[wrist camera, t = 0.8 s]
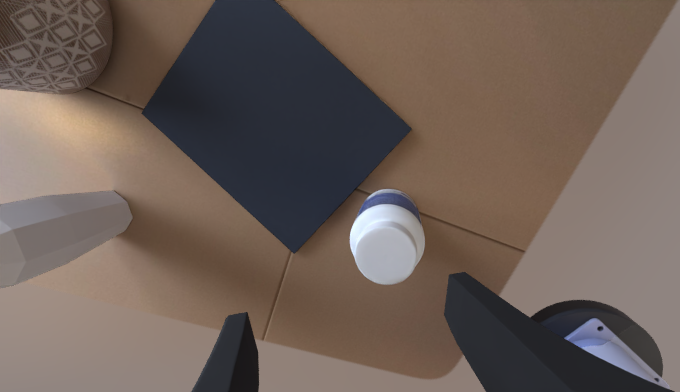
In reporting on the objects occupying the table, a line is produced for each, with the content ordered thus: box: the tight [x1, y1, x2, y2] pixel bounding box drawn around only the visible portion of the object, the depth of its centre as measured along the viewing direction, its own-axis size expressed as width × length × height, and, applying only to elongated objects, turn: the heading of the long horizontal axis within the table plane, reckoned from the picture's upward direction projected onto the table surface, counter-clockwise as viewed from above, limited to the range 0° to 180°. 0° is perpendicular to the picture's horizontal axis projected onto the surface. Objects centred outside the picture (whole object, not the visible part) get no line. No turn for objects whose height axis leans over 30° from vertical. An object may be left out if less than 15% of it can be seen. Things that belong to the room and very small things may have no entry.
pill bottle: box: [350, 189, 425, 285], centre depth 26 cm, size 5×5×10 cm
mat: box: [142, 0, 411, 253], centre depth 31 cm, size 20×16×1 cm
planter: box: [0, 0, 113, 94], centre depth 28 cm, size 13×13×10 cm
